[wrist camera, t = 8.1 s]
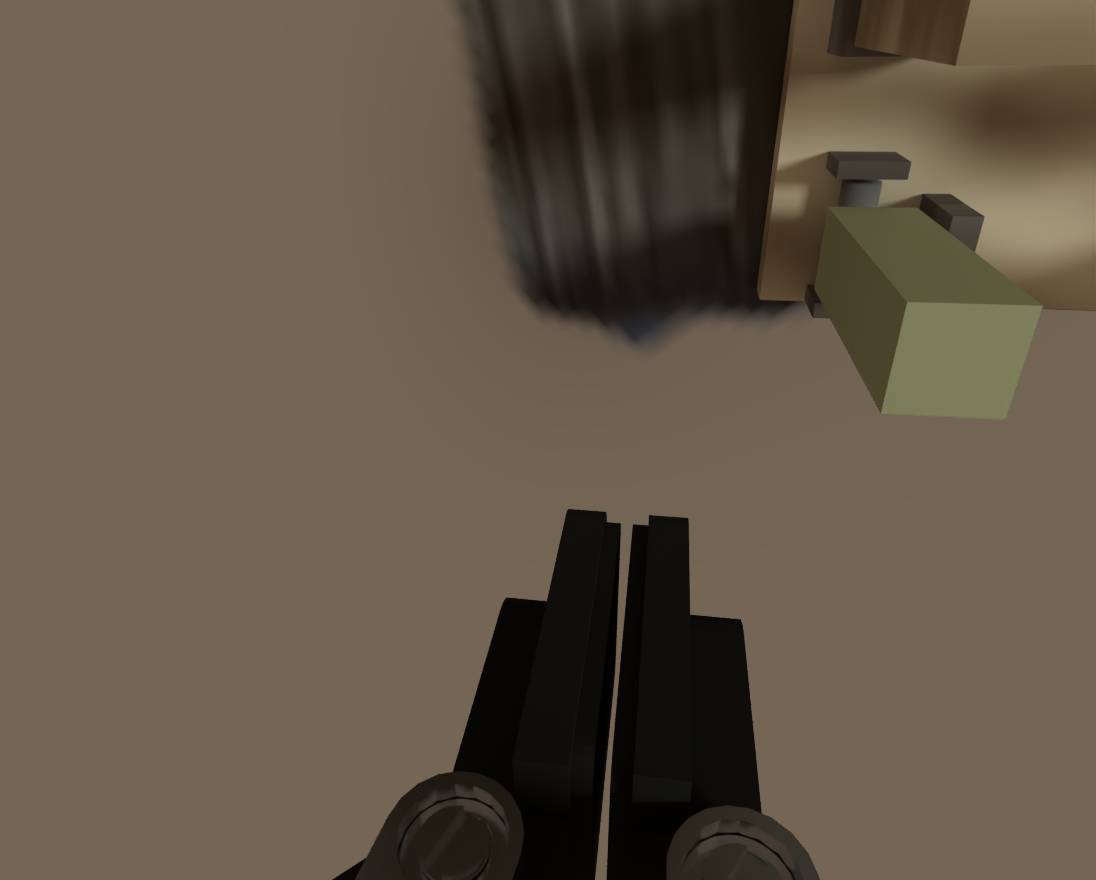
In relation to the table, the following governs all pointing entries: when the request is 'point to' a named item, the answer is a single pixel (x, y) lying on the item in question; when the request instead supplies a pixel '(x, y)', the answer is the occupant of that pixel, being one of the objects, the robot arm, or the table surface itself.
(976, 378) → the hinged leg
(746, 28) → the table surface
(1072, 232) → the stool seat
